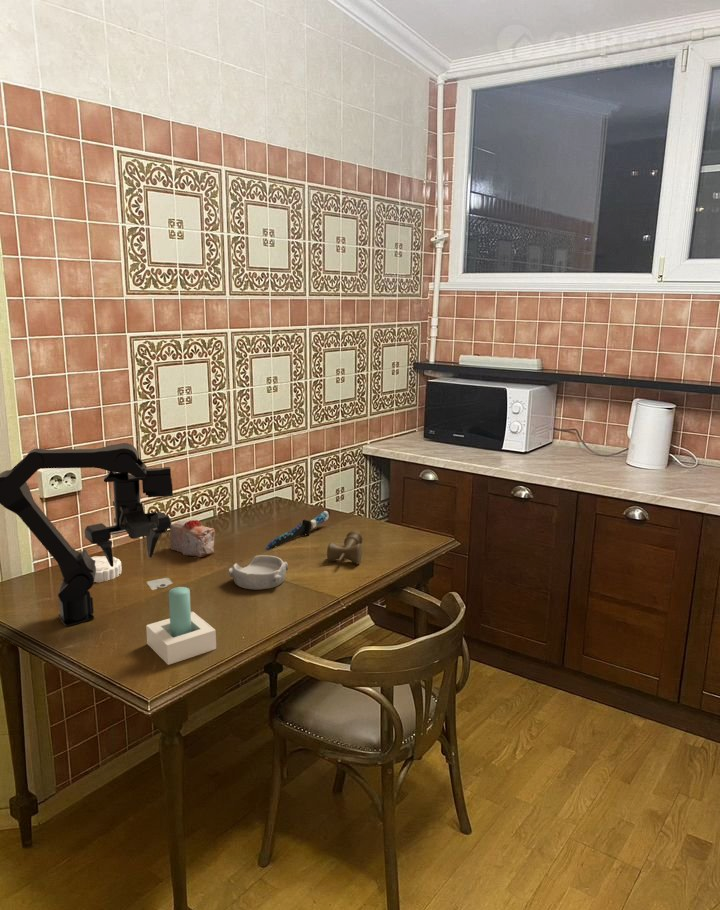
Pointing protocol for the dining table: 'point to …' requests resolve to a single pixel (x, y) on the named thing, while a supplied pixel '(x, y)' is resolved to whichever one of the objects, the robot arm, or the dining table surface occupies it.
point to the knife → (300, 529)
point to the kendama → (347, 549)
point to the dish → (260, 573)
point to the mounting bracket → (159, 583)
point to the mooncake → (106, 568)
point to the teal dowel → (179, 611)
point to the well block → (181, 640)
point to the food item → (192, 538)
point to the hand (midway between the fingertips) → (131, 561)
